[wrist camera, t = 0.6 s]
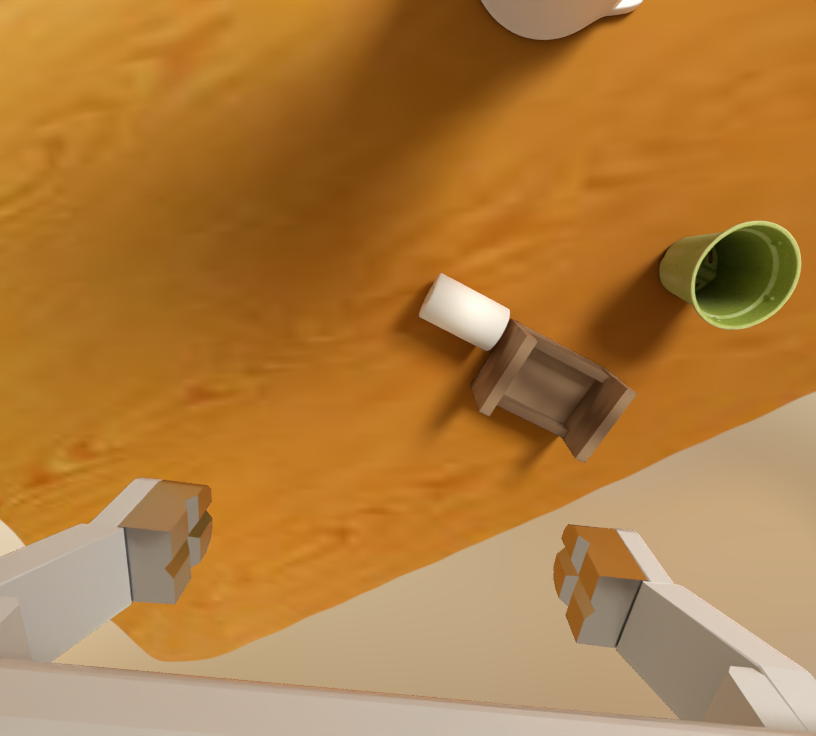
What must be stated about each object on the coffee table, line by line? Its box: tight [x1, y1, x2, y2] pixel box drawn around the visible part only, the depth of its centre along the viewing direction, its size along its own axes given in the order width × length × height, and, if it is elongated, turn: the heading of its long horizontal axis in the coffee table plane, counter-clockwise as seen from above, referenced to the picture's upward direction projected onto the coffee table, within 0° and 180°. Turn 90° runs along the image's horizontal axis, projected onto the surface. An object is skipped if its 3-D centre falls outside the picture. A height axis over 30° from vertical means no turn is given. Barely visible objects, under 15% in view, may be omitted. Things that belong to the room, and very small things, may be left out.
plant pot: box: [659, 221, 801, 330], centre depth 43 cm, size 9×9×9 cm
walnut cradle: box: [470, 319, 637, 463], centre depth 48 cm, size 9×13×7 cm
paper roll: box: [419, 273, 510, 351], centre depth 46 cm, size 8×5×5 cm, turn 63°
